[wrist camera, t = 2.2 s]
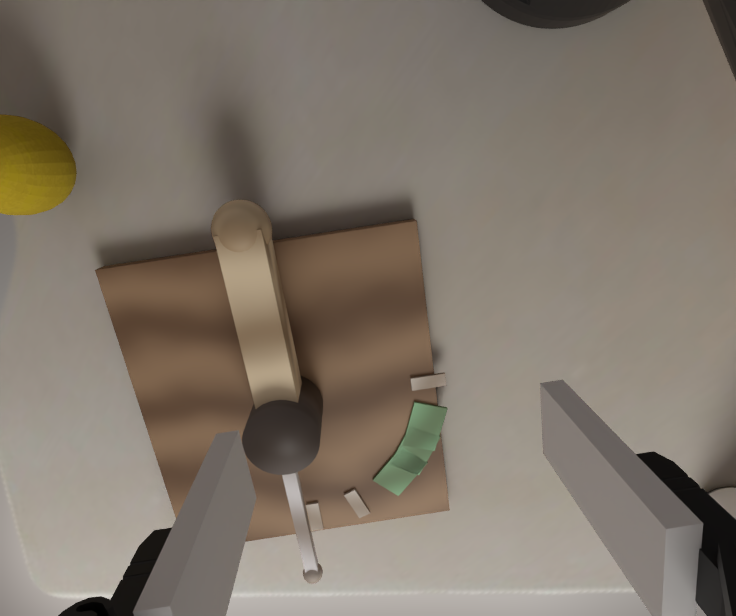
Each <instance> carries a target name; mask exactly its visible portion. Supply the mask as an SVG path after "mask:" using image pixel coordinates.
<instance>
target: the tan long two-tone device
mask: <svg viewBox="0 0 736 616" xmlns="http://www.w3.org/2000/svg"><path fill="white" fill-rule="evenodd" d="M211 233H212V237H213V240H214V242H215V245H216V249H217V253H218V257H219V262H220V266H221V270H222V274H223V278H224V282H225V286H226V290H227V294H228V298H229V302H230V307H231V311H232V315H233V319H234V323H235V327H236V331H237V335H238V339H239V343H240V347H241V352H242V356H243V360H244V364H245V368H246V372H247V376H248V380H249V384H250V388H251V392H252V397H253V401H254V404H253V407H252V410H251V412H250V415H249V418H248V420H247V423H246V426H245V428H244V431H243V435H242V445H243V449H244V452H245V454H246V456H247V458H248V459H249V460H250V461H251V463H252V464H254V465H255V466H256V467H257V468H259V469H261V470H263V471H265V472H268V473H271V474H276V475H282V477H283V481H284V485H285V489H286V494H287V498H288V502H289V506H290V511H291V515H292V519H293V523H294V527H295V532H296V536H297V540H298V544H299V549H300V553H301V557H302V561H303V565H304V570H303V576H304V579H305V580H306V581H307V582H308V583H311V584H314V583H317V582H318V581H319V580H320V579H321V577H322V573H323V571H322V567H321V565H320V564H319V563H318V560H317V556H316V551H315V547H314V542H313V538H312V533H311V529H310V524H309V520H308V515H307V511H306V507H305V502H304V498H303V493H302V489H301V484H300V480H299V475H298V472H299V471H301V470H303V469H304V468H306V467H307V466H309V465H310V464H311V463H312V462H313V460H314V459H315V458H316V456H317V454H318V451H319V447H320V437H321V426H322V415H323V398H322V395H321V392H320V390H319V389H318V387H317V386H316V385H315V384H314V383H313V382H312V381H310V380H309V379H307V378H305V377H303V376H301V375H300V371H299V366H298V361H297V356H296V351H295V347H294V342H293V337H292V332H291V327H290V323H289V318H288V313H287V308H286V303H285V298H284V294H283V289H282V284H281V279H280V274H279V270H278V265H277V260H276V255H275V250H274V245H273V241H272V224H271V221H270V218H269V216H268V215H267V213H266V212H265V211H264V209H263V208H261V207H260V206H259V205H257V204H256V203H254V202H252V201H248V200H233V201H230V202H227V203H225V204H224V205H222V206H221V207H220V208H219V209H218V210H217V211H216V213H215V215H214V217H213V220H212V224H211Z"/></svg>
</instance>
